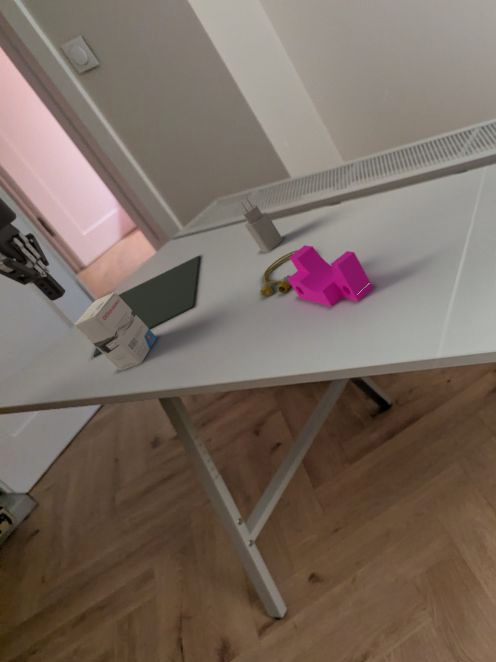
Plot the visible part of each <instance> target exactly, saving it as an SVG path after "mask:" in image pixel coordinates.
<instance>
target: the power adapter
mask: <svg viewBox="0 0 496 662" xmlns="http://www.w3.org/2000/svg"><path fill="white" fill-rule="evenodd" d="M245 199H246V201H247V203H248V204H249V206H250V207H248V208H246V206H245V204H244V203H243V201H240V204H241V205H242V207H243V210H245V211H244V212H242V216H243V217H244V218H245V220H246V221H247V223H246V224H245V225H244V227H245V229H246V230H247V231H248V233H249V234H250V236H251V237H252V239H253V240H254V242H255V244H256V245H257V246H258V248H259V250H261V252H262V253H269V252H272V251H273V250H274V249H275V248H276V247H277V246H278V245H279V244H280V243H281V242H282V241H283V240H284V239H283V237H282V236H281V233H280V232H279V230H278V229H277V227H276V225H275V224H274V222H273V221H272V219H271V218H270V216H269V214H268V212H262V211H261V209H260V208H259V206H258V205H257V204H254V205H253V204H252V203H251V202H250V200H249V199H248V197H245Z"/></svg>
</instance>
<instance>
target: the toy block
mask: <svg viewBox="0 0 496 662" xmlns="http://www.w3.org/2000/svg"><path fill="white" fill-rule="evenodd" d="M297 250H298V251H296V250H295V251H296V252H295V253H292V255H291V254H290V255H291V256H290V257H289V258H290V259H289V258H288V259H289V260H290V261H291V262H292V264H293V266H294V267H295V269H296V270H297V271H295V272H294V273H293V274H291V275H290V276H291V277H289V278H288V281H289V282H290V284H291V285H290V286H291V287H292V289H293V290H294V292H295V293H296V295H297V297H298V298H299V299H302V300H306V301H310V302H314V303H318V304H322V305H324V306H329V307H333V306H334V305H335V304H336V303H338V301H340V300H341V299H347V300H351V301H355V302H360V300H361V299H363V298H364V297H365V296H367V294H368V293H370V292H371V291H372V290H373V289H374V286H373V284H372V282H371V281H370V279H369V277H368V275H367V273H366V271H365V269H364V268H363V265H362V264H361V261H360V260H359V258H358V256H357V255H356V252H355V251H348V250H346V251H345V252H343V254H341V255H340V256H339V257H338V258H337V259H335V260H334V261H333V262H331V263H328V262H327V261H326V260H325V259H324V258H323V257H322V256H321V255H320V254H319V252H318V251H317V250H316V249H315V247H314V246H312V245H306V244H304V245H303V246H302V247H300V248H299V249H297ZM368 283H370V284H369V285H368V286H367V287H366V288H364V287H365V286H366V285H367V284H368ZM363 288H364V289H363ZM362 289H363V290H362ZM361 290H362V291H361ZM360 291H361V292H360ZM359 292H360V293H359ZM358 293H359V294H358ZM357 294H358V295H357Z"/></svg>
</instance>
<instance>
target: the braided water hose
mask: <svg viewBox="0 0 496 662" xmlns="http://www.w3.org/2000/svg"><path fill="white" fill-rule="evenodd" d="M298 250H299V249H296V250H293V251H290V252H288V253H286V254H284V255H282V256H281V257H279V258H278V259H277V260H275V261H274V262H272V263H271V265H269V266H268V267H267V268H266V270H264V273H263V283H262V284H261V287H260V289H261V290H260V295H261V296H264V297H265V298H267V297H270V296H272V295H274V290H273V288H272V285H279V286H278V288H277V290H278V292H279V293H281V294H285V293H287V292H288V290H289V289H290V288H291V286H292V285H291V284H290V282H289V281H288V278H289V277H291V276H292V275H286V276H284V277H283V278H282V279H280V280H273V281H271V280H268V279H269V276H270V274H271V273H272V272H273V270H274V269H276V268H277V267H278V266H280V265H282V264H283V263H285V262H287V261H289V260H291V259H290V258H289V257H290V256H291V255H292V254H294V253H295V252H296V251H298Z"/></svg>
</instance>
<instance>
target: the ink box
mask: <svg viewBox="0 0 496 662" xmlns="http://www.w3.org/2000/svg"><path fill="white" fill-rule="evenodd" d="M118 295H119V294H118V293H117V292H112V293H110V294H107V295H105V296H102V297H100V298H98V299H95V300H94V301H93V302H92V304H91V305H89V306H88V308H87V309H86V310H85V311H84V312H83V314H81V316H80V317H79V318H78V319H77V321H76V322H75V323H74V324H73V325H74V327H75V328H76V329H77V330H78V331H80V333H81V334H83V335H84V336H85V337H86V338H87V339H88V340H89V342H91V343H92V344H93V345H94V346H95V348H98V349H99V350H100V351H101V352H102V354H103V355H104V356H105V357H106V358H107V359H108V361H110V362H111V363H112V364H113V365H114V366H115V368H117V369H118V370H119V371H124V370H126V369H129V368H131V367H135V366H138V365H141V364H142V363H143V361H144V360H145V358H146V356H147V355H148V353H149V352H150V350H151V349H152V347H153V345H154V344H155V342H156V340H157V338H158V337H157V336H156V335H155V334H154V333H153V331H152V329H149V328H148V327H147V326H146V325H145V324H144V323H143V322H142V321H141V320H140V318H139V317H138V316H137V315H136V314H135V313H134V312H133V311H132V310H131V309H130V307H129V306H128V305H127V304H126V303H125V302H124V301H123V300H122V299H121V298H120V297H119V296H118Z"/></svg>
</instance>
